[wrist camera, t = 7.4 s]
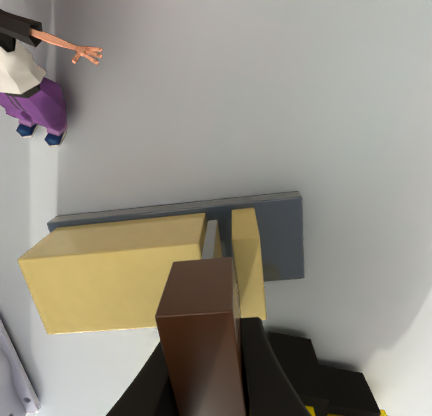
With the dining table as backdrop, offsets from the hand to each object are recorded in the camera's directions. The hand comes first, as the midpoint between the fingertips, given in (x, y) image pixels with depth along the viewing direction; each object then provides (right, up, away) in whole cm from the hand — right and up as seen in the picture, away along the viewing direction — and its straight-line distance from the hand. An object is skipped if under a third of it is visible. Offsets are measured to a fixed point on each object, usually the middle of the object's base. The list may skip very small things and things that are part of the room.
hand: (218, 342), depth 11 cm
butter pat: (+2, +3, +6) cm, 7 cm away
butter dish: (-2, +3, +8) cm, 8 cm away
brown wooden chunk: (0, +1, +3) cm, 4 cm away
